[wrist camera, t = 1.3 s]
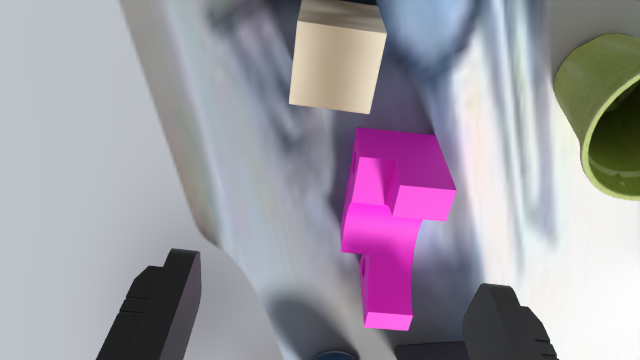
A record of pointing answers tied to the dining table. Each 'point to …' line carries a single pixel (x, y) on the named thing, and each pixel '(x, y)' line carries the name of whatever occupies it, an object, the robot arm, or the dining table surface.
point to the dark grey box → (433, 351)
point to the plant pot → (605, 111)
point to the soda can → (334, 356)
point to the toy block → (391, 216)
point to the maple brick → (337, 55)
